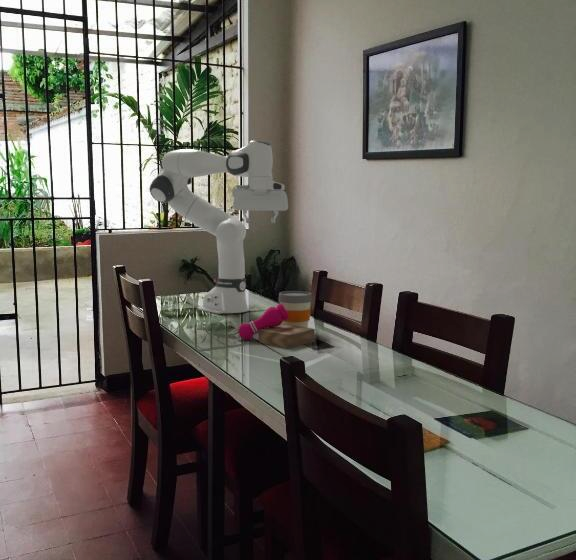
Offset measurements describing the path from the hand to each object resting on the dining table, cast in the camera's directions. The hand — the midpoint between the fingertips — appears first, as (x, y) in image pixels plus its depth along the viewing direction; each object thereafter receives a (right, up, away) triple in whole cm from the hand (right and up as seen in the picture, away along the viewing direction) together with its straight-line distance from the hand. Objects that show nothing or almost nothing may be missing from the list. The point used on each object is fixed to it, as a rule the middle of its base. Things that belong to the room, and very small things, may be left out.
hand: (260, 223), depth 239 cm
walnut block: (+10, -43, -11) cm, 46 cm away
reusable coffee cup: (+13, -41, +5) cm, 43 cm away
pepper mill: (+9, -32, -8) cm, 34 cm away
